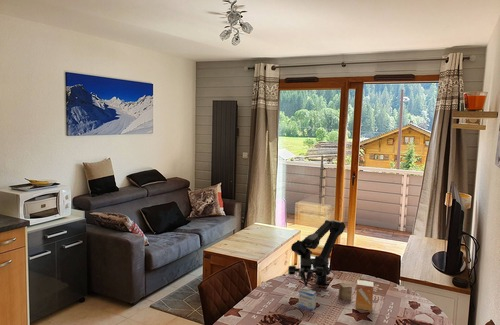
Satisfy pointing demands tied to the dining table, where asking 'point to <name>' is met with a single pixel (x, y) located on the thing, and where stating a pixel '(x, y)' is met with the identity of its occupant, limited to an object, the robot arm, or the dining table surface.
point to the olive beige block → (345, 291)
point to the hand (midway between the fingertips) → (305, 286)
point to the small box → (364, 295)
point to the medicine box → (307, 299)
